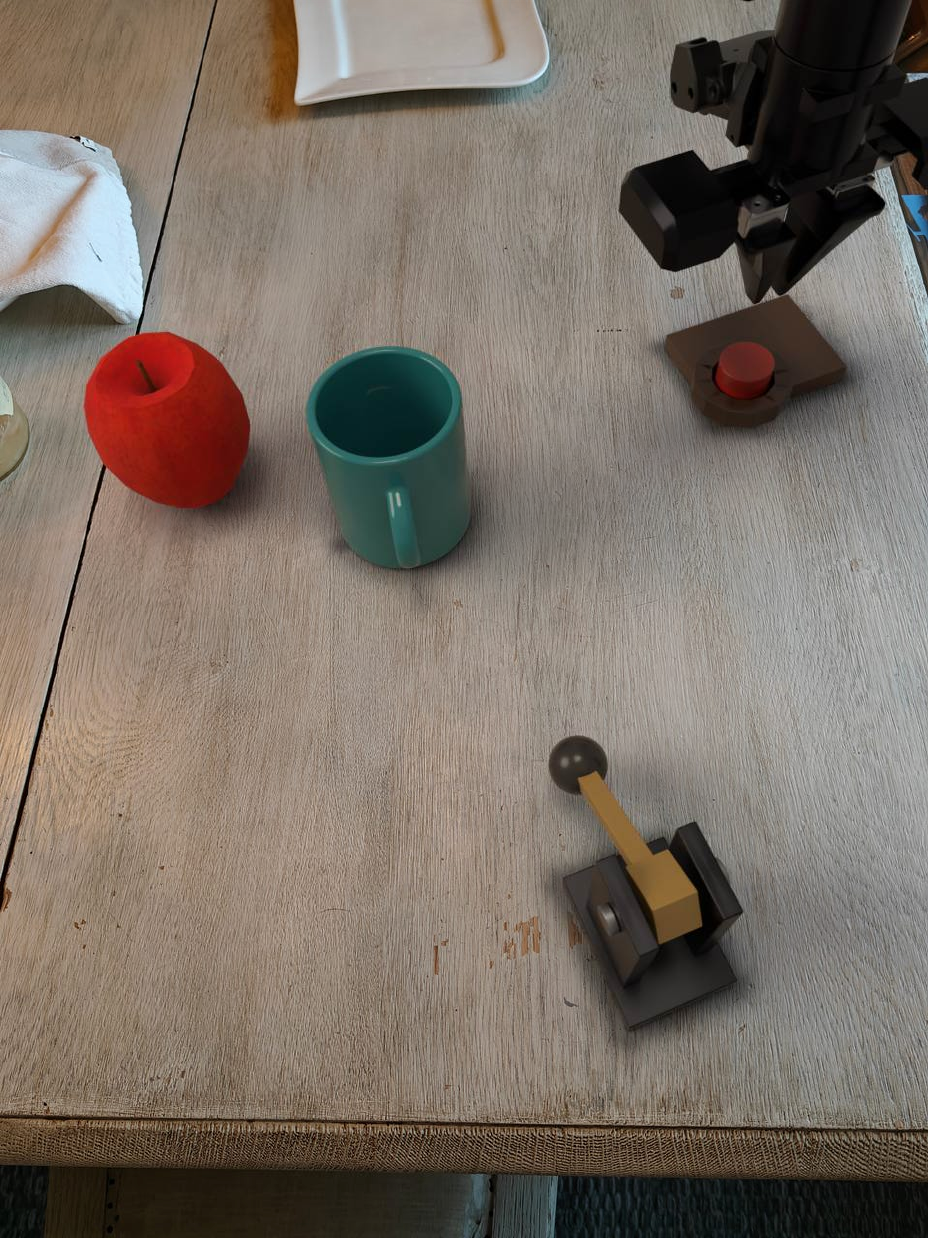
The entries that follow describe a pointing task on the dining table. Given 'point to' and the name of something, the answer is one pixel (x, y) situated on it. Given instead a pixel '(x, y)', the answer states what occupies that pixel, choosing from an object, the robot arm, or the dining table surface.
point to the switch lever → (628, 841)
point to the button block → (776, 328)
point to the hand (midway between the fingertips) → (764, 294)
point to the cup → (393, 454)
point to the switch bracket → (626, 943)
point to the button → (744, 370)
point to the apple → (167, 420)
